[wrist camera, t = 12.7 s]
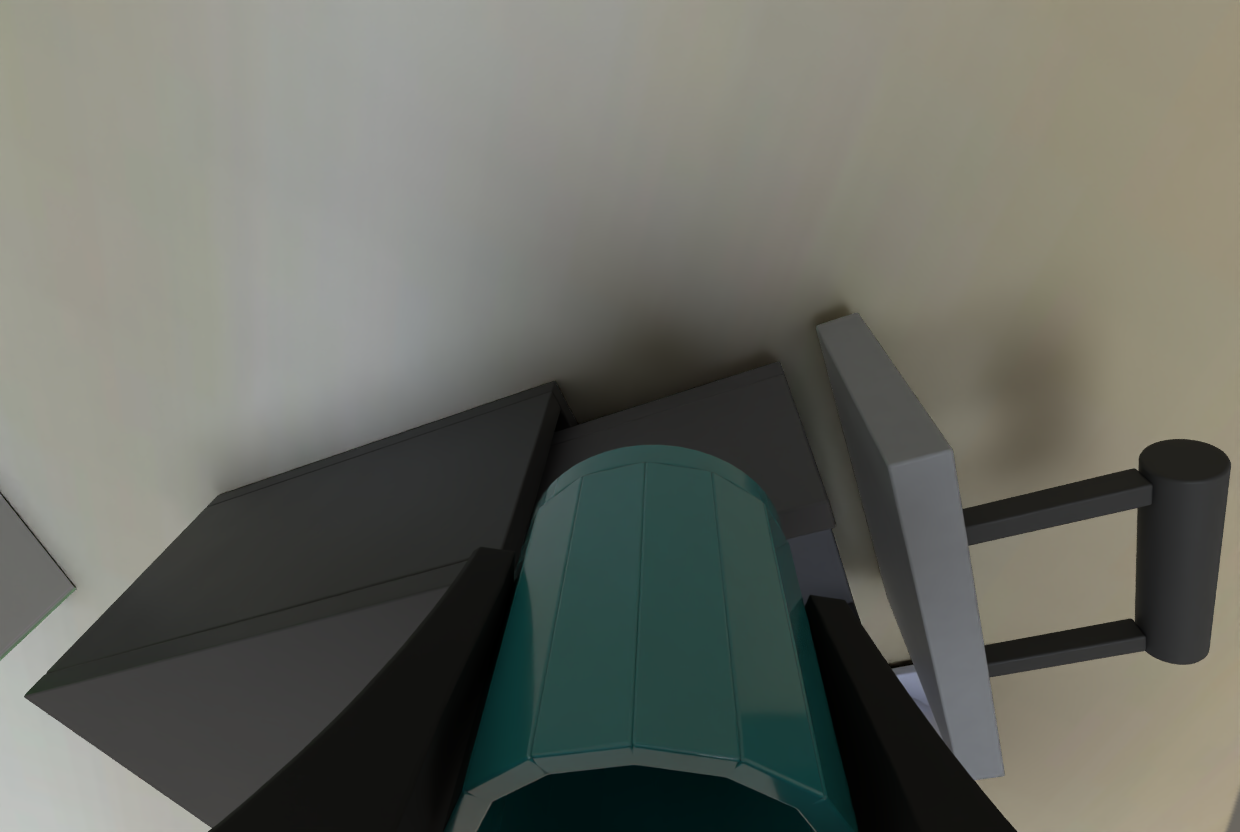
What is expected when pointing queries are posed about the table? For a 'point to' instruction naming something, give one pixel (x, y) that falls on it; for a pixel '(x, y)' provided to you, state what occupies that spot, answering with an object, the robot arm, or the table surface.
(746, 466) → the drawer
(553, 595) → the container
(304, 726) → the dark grey storage box
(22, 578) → the tray
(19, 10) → the table surface
